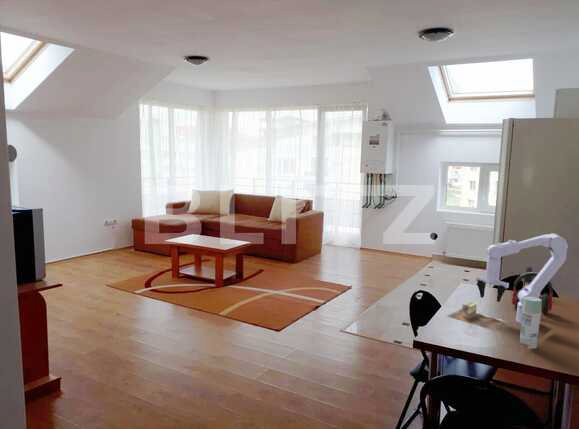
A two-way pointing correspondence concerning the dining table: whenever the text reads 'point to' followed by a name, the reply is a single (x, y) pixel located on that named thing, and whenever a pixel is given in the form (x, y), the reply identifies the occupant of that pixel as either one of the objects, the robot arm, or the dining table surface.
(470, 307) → the block
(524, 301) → the spray paint can
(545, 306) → the headphones
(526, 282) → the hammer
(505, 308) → the dining table surface
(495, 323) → the walnut board
